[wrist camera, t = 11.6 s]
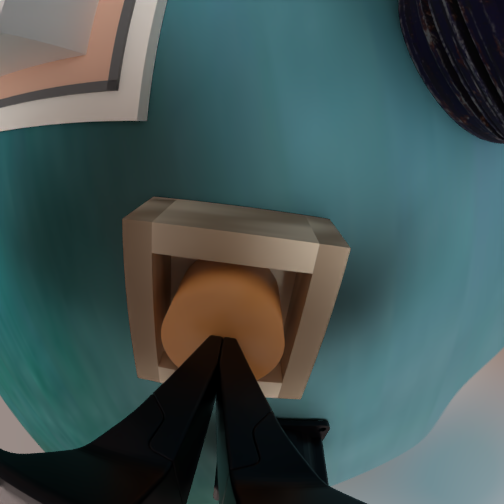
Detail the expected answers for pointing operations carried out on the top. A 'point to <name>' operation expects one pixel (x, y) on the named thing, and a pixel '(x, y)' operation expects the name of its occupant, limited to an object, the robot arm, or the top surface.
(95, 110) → the picture board
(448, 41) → the storage jar
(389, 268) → the top surface
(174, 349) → the button
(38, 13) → the two-tone rectangular block
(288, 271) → the button block
